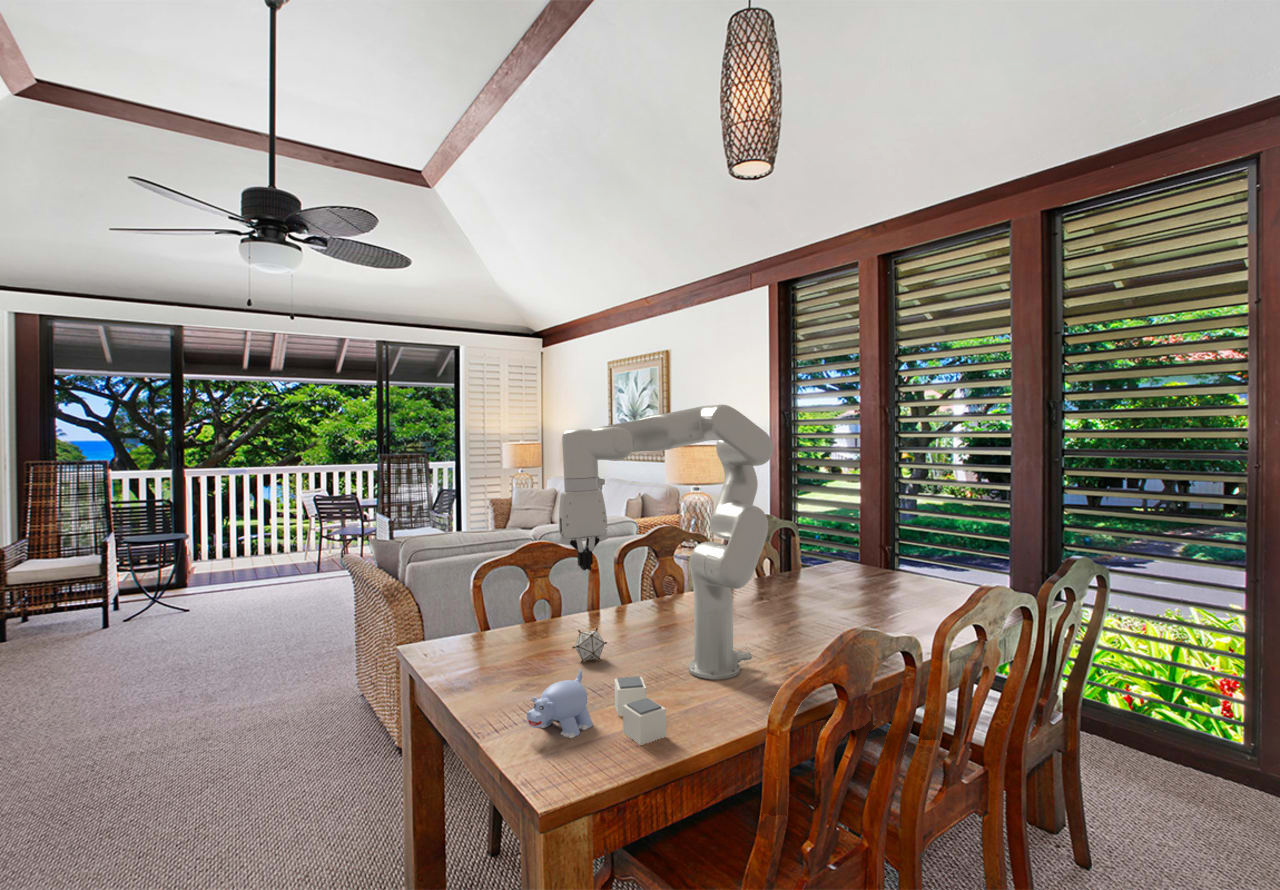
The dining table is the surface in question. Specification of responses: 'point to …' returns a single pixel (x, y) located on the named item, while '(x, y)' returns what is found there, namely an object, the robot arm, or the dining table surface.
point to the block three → (628, 691)
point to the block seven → (644, 721)
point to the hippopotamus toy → (562, 707)
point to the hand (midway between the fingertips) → (585, 568)
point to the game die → (589, 645)
